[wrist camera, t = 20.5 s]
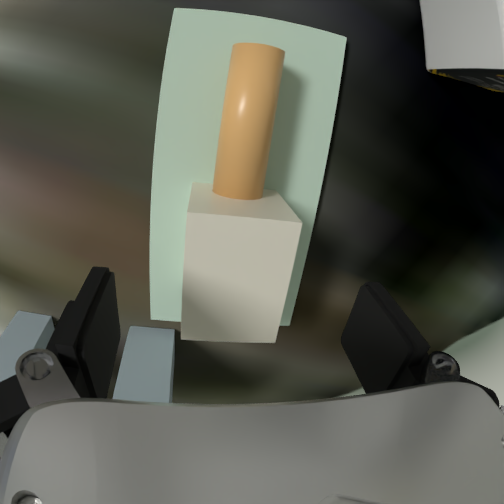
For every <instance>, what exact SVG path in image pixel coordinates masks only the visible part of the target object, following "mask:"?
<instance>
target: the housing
mask: <svg viewBox="0 0 504 504" xmlns="http://www.w3.org/2000/svg"><path fill="white" fill-rule="evenodd" d="M53 331H54V325H53V321H52V317H51V316H48V315H42V314H36V313H30V312H24V311H18V312H17V313H16V314H15V316H14V317H13V319H12V320H11V322H10V323H9V325H8V326H7V328H6V329H5V331H4V332H3V334H2V335H1V337H0V382H1V381H3V380H5V379H7V378H9V377H11V376H13V375H16V371H15V365H16V362H17V360H18V358H19V357H20V356H21V355H22V354H23V353H25V352H27V351H29V350H32V349H36V348H43V349H46V347H47V344H48V342H49V340H50V338H51V336H52V334H53ZM174 359H175V329H163V328H150V327H139V326H130V329H129V333H128V336H127V340H126V344H125V348H124V352H123V356H122V360H121V364H120V368H119V372H118V377H117V381H116V385H115V390H114V395H113V399H119V400H133V401H146V402H163V403H172V391H173V374H174Z"/></svg>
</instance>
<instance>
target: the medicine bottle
mask: <svg viewBox="0 0 504 504" xmlns="http://www.w3.org/2000/svg"><path fill="white" fill-rule="evenodd" d="M419 1H420V7H421V15H422V23H423V33H424V44H425V57H426V69H427V70H428V72H430V73H433V74H438V75H442V76H446V77H449V78H453V79H457V80H460V81H464V82H467V83H471V84H474V85H477V86H480V87H483V88H486V89H489V90H492V91H499V92H504V0H419Z"/></svg>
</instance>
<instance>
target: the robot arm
mask: <svg viewBox="0 0 504 504" xmlns="http://www.w3.org/2000/svg"><path fill="white" fill-rule="evenodd" d="M119 341H120V324H119V316H118V308H117V299H116V288H115V277H114V273H113V272H109V268H106V267H92V269H91V271H90V273H89V275H88V276H87V278H86V280H85V282H84V284H83V286H82V288H81V290H80V292H79V294H78V296H77V298H76V300H75V301H72V300H71V301H69V302H68V303H67V305H66V307H65V309H64V311H63V313H62V315H61V317H60V319H59V321H58V323H57V325H56V327H55V329H54V331H53V334H52V336H51V338H50V340H49V342H48V344H47V347H46V349H43V348H36V349H32V350H29V351H27V352H25V353H23V354H22V355H21V356H20V357H19V358H18V360H17V362H16V365H15V371H16V375H13V376H11V377H9V378H7V379H5V380H3V381H1V382H0V504H33V503H34V504H504V406H501V407H500V408H499V400H498V398H497V396H496V394H495V393H494V391H493V390H491V389H488V388H486V387H484V386H482V385H480V384H478V383H475V382H473V381H471V380H469V379H467V378H465V377H462V376H460V368H459V365H458V363H457V361H456V360H455V359H454V358H453V357H452V356H450V355H449V354H447V353H444V352H441V351H435V352H432V353H431V354H430V355H428V353H427V351H428V350H429V348H430V346H429V344H428V343H427V342H426V340H425V339H424V338H423V336H422V335H421V334H420V332H419V331H418V330H417V328H416V327H415V326H414V324H413V323H412V322H411V321H410V319H409V318H408V317H407V315H406V314H405V313H404V312H403V310H402V309H401V308H400V307H399V305H398V304H397V303H396V302H395V300H394V299H393V298H392V297H391V295H390V294H389V293H388V292H387V290H386V289H385V288H384V287H383V286H382V284H381V283H379V282H366V283H365V284H364V285H363V286H361V287H360V290H359V292H358V295H357V298H356V300H355V303H354V306H353V308H352V311H351V314H350V316H349V319H348V321H347V324H346V326H345V329H344V331H343V334H342V337H341V344H342V346H343V348H344V350H345V352H346V354H347V356H348V358H349V360H350V362H351V364H352V366H353V368H354V370H355V372H356V374H357V376H358V378H359V380H360V382H361V384H362V386H363V388H364V390H365V393H366V394H362V395H354V396H346V397H338V398H329V399H319V400H309V401H296V402H281V403H260V404H185V403H163V402H146V401H133V400H119V399H106V398H107V393H108V388H109V384H110V379H111V375H112V370H113V366H114V361H115V357H116V353H117V349H118V345H119Z"/></svg>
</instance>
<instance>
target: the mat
mask: <svg viewBox="0 0 504 504" xmlns="http://www.w3.org/2000/svg"><path fill="white" fill-rule="evenodd" d="M346 39H347V37H344V36H340V35H337V34H334V33H330V32H327V31H323V30H319V29H315V28H312V27H308V26H303V25H299V24H295V23H290V22H286V21H281V20H276V19H270V18H265V17H259V16H253V15H246V14H239V13H231V12H223V11H213V10H201V9H184V8H174V13H173V18H172V23H171V28H170V34H169V39H168V45H167V51H166V57H165V63H164V70H163V76H162V84H161V91H160V99H159V107H158V116H157V126H156V136H155V147H154V160H153V174H152V191H151V215H150V307H151V319H153V320H166V321H180V322H181V311H182V285H183V264H184V247H185V232H186V219H187V209H188V204H189V198H190V193H191V187H192V182H199V183H210V184H213V180H214V172H215V163H216V155H217V148H218V140H219V132H220V125H221V118H222V111H223V104H224V97H225V90H226V84H227V77H228V71H229V64H230V58H231V52H232V46H233V44H236V43H259V44H265V45H270V46H274V47H277V48H280V49H282V50H284V51H285V58H284V64H283V71H282V77H281V83H280V89H279V96H278V102H277V108H276V115H275V121H274V127H273V133H272V140H271V146H270V152H269V158H268V165H267V171H266V177H265V183H264V189H268V190H276V191H277V192H278V193H279V194H280V196H281V197H282V198H283V199H284V201H285V202H286V203H287V204H288V205H289V207H290V208H291V209H292V210H293V212H294V213H295V214H296V215H297V217H298V218H299V219H300V220H301V222H302V228H301V233H300V237H299V242H298V247H297V251H296V256H295V260H294V265H293V269H292V274H291V278H290V282H289V287H288V291H287V295H286V300H285V304H284V308H283V312H282V317H281V321H280V325H279V326H289V325H290V321H291V317H292V313H293V310H294V306H295V302H296V298H297V294H298V290H299V285H300V281H301V277H302V273H303V269H304V265H305V260H306V256H307V252H308V247H309V243H310V238H311V234H312V229H313V225H314V220H315V216H316V211H317V206H318V201H319V197H320V192H321V187H322V182H323V177H324V172H325V167H326V161H327V156H328V151H329V146H330V140H331V135H332V129H333V123H334V117H335V112H336V106H337V99H338V93H339V87H340V81H341V74H342V67H343V60H344V53H345V46H346Z"/></svg>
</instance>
